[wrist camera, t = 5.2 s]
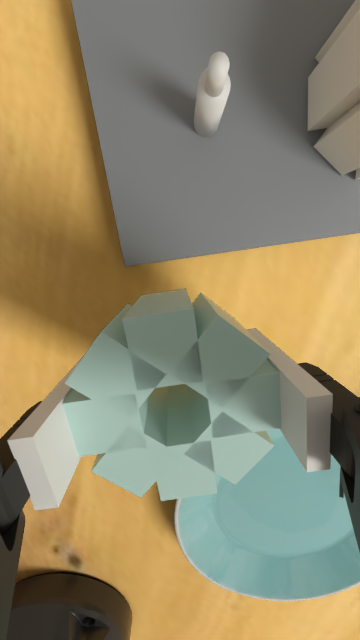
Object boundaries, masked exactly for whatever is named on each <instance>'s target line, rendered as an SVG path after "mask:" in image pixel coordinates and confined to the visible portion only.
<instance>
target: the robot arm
mask: <svg viewBox="0 0 360 640" xmlns="http://www.w3.org/2000/svg"><path fill="white" fill-rule="evenodd" d="M247 331H248V332H249V333H250V334H251V335H252V336H253V337H254V338H255V339H256V340H257V341H258V342H259V343H260V344H261V345H262V346H263V347H264V348H265V349H266V350H267V351H268V352H269V353H270V355H269V356H268V358H267V360H268V361H269V362H270V363H271V364H272V365H273V366H274V367H275V368H276V369H277V371H278V372H279V373H280V402H281V428H280V430H281V432H282V433H283V435H284V437H285V438H286V440H287V441H288V443H289V445H290V446H291V448H292V449H293V451H294V453H295V454H296V456H297V457H298V459H299V461H300V462H301V464H302V465H303V467H304V469H305V470H306V472H314V471H321V470H328V469H331V454H332V456H333V457H334V458H335V459H336V461H337V462H338V463H339V464H340V485H339V497H341V498H344V495H345V499H346V502H347V506H348V510H349V514H350V518H351V522H352V525H353V529H354V533H355V537H356V541H357V545H358V548H359V552H360V397H357V396H356V395H354V394H353V393H352V392H350V391H349V390H348V389H346V388H345V387H344V386H342V385H341V384H340V383H338V382H337V381H336V380H334V379H333V378H332V377H331V376H329V375H327V373H325V372H324V371H323V370H321V369H320V368H319V367H316V366H314V365H311V364H309V363H300V364H297V363H296V362H295V361H293V360H292V359H291V358H290V357H289V356H288V355H286V354H285V353H284V352H283V351H282V350H281V349H279V348H278V347H277V346H276V345H275V344H274V343H272V342H271V341H270V340H269V339H268V338H267V337H265V336H264V335H263V334H262V333H261V332H260V331H258V330H257V329H256V328H254V329H247ZM85 354H86V353H85ZM83 357H84V356H83ZM83 357H82V358H83ZM82 358H81V359H82ZM81 359H80V360H79V361H78V362H77V363H76V365H75V366H74V367H73V368H72V369H71V370H70V371H69V372H68V373H67V375H66V376H65V377H64V378H63V379H62V380H61V381H60V382H59V383H58V385H57V386H56V387H55V388H54V389H53V390H52V391H51V392H50V393H49V395H48V396H47V397H46V398H45V399H44V400H43V401H40V402H38V403H37V404H35V405H34V406H32V407H31V408H30V409H28V410H27V411H26V412H25V413H24V414H23V416H22V417H21V418H20V420H18V421H17V422H16V423H15V424H14V425H13V427H11V428H10V429H9V430H8V431H7V432H6V434H5V435H4V436H3V437H2V438H1V439H0V640H130V633H131V625H132V612H131V609H130V607H129V605H128V603H127V601H126V600H125V599H124V598H123V597H122V596H121V595H120V594H119V593H118V592H117V591H116V590H114V589H113V588H111V587H109V586H108V585H106V584H104V583H102V582H99V581H97V580H94V579H91V578H88V577H84V576H79V575H72V574H46V575H39V576H35V577H31V578H28V579H26V580H23V581H21V582H19V583H17V584H16V585H15V582H16V576H17V569H18V563H19V557H20V551H21V545H22V539H23V533H24V527H25V515H24V513H23V510H22V509H23V507H24V505H25V504H26V502H27V500H28V498H29V497H30V499H31V501H32V504H33V506H34V509H35V511H36V510H43V509H50V508H57V507H59V505H60V503H61V501H62V498H63V496H64V494H65V492H66V490H67V487H68V485H69V483H70V481H71V479H72V476H73V474H74V472H75V470H76V468H77V465H78V463H79V461H80V459H81V457H82V456H81V457H79V456H78V452H77V449H76V446H75V443H74V440H73V436H72V433H71V430H70V427H69V424H68V420H67V417H66V414H65V411H64V408H63V404H62V403H63V402H64V401H65V399H66V398H67V397H68V395H69V394H70V393H71V391H72V390H73V388H71V387H70V386H68V385H66V384H65V382H66V381H67V379H68V378H69V377H70V375H71V374H72V372H73V371H74V369H75V368H76V367H77V365H78V364H79V362H80V361H81Z"/></svg>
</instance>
